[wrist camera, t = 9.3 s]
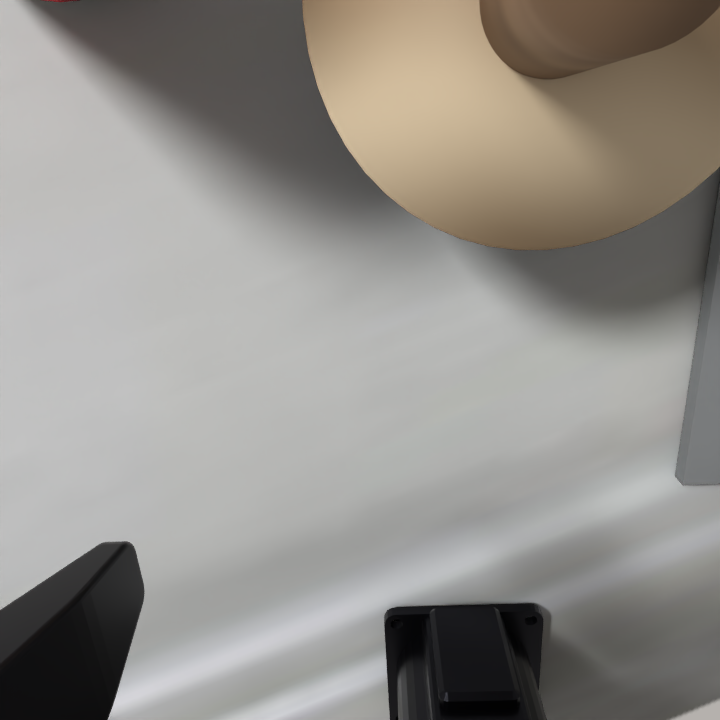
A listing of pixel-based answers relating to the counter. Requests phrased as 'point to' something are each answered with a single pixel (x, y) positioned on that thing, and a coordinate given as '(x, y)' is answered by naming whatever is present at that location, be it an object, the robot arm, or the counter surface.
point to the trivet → (704, 382)
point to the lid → (524, 109)
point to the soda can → (60, 0)
